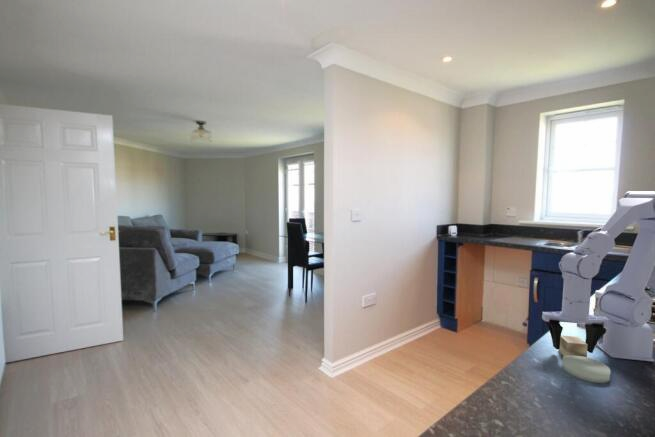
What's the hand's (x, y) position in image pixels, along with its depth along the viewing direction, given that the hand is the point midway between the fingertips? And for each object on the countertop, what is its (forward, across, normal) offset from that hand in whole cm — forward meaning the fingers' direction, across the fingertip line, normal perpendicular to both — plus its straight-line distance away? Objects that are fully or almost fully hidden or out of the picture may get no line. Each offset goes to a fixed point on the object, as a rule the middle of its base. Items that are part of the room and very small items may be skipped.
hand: (572, 349), depth 87 cm
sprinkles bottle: (+2, +16, +17) cm, 23 cm away
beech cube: (+2, 0, 0) cm, 2 cm away
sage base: (+2, -1, -8) cm, 9 cm away
